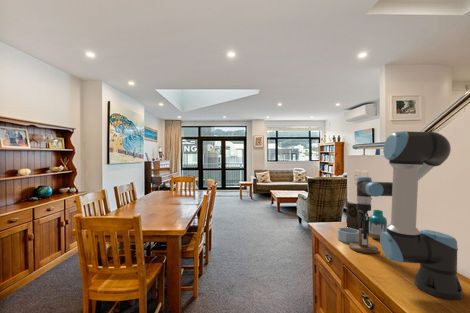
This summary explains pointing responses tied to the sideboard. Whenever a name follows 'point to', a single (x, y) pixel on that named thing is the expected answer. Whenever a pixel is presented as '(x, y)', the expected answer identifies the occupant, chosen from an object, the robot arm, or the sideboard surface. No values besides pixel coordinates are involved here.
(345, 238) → the bowl
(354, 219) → the owl
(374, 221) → the vase
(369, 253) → the mat
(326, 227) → the sideboard surface
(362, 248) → the lid
